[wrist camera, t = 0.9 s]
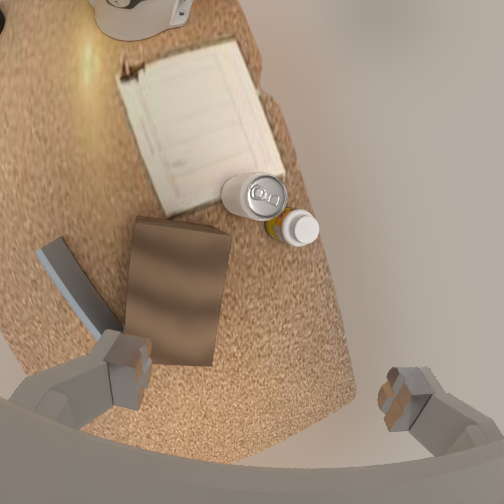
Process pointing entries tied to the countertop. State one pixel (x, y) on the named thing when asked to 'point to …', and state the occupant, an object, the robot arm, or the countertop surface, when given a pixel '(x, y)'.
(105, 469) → the robot arm
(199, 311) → the crate
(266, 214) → the can
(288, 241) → the supplement bottle
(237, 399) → the countertop surface
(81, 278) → the flap
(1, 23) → the pen holder
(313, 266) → the countertop surface
